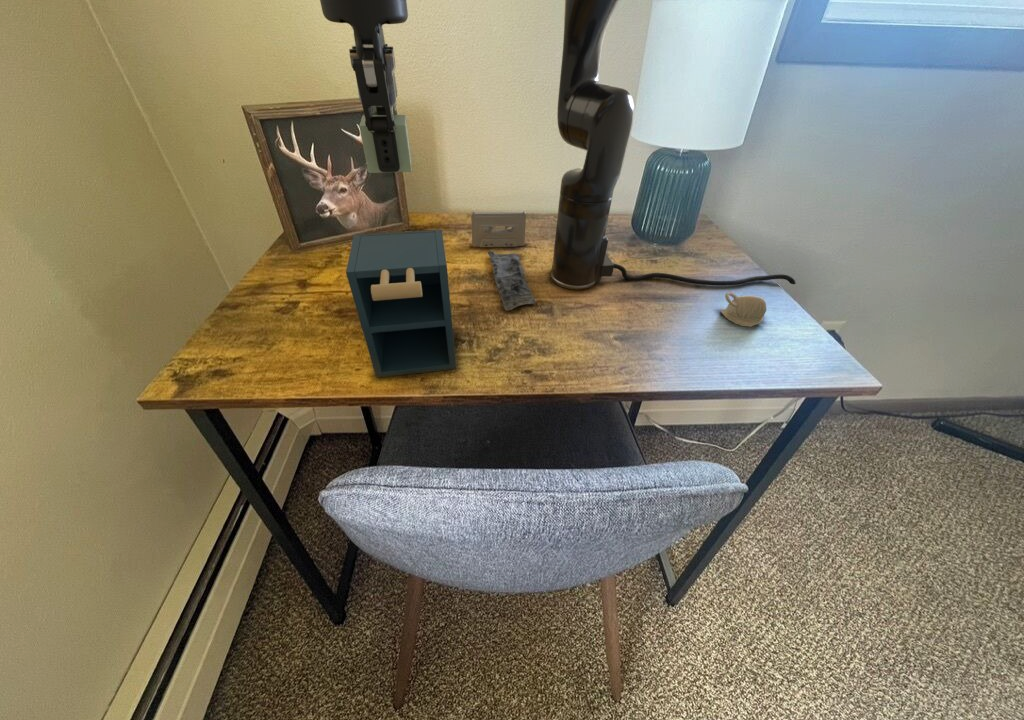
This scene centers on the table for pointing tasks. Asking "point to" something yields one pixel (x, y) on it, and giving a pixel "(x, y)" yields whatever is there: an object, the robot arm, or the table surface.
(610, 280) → the table surface
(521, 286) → the grey cloth
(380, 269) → the shelf
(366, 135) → the block
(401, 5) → the robot arm
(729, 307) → the decorative ornament
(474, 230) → the cassette
